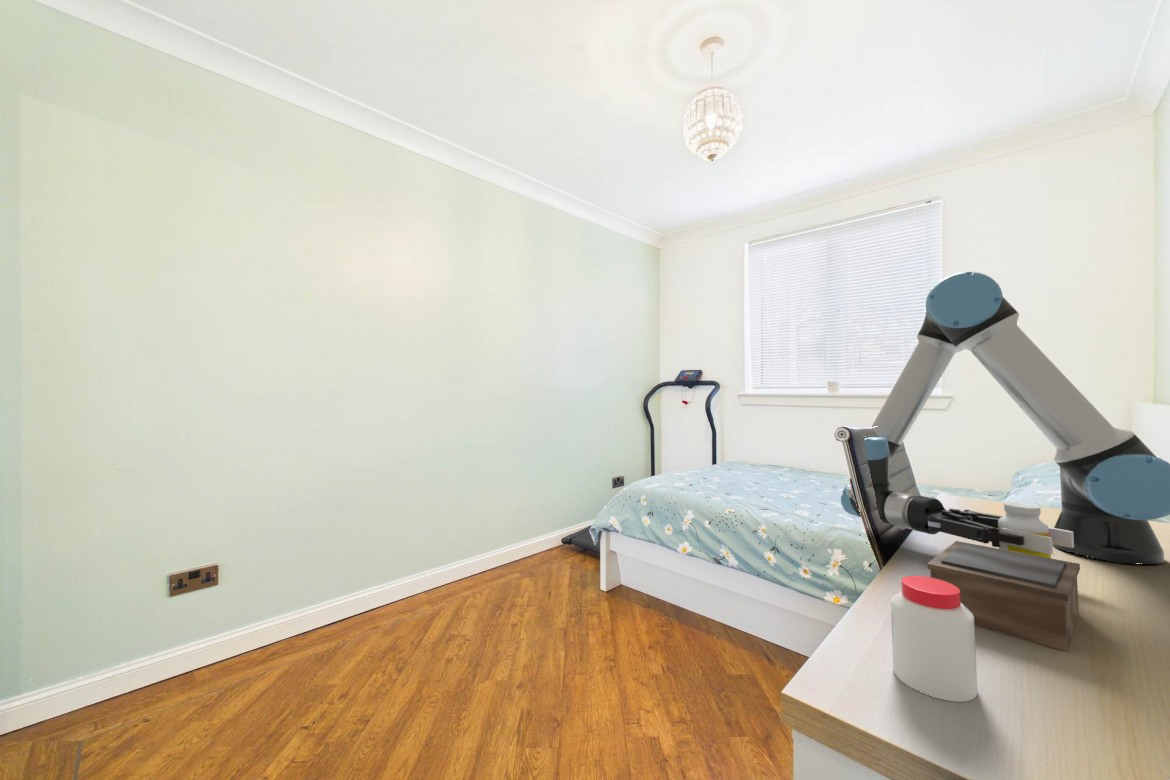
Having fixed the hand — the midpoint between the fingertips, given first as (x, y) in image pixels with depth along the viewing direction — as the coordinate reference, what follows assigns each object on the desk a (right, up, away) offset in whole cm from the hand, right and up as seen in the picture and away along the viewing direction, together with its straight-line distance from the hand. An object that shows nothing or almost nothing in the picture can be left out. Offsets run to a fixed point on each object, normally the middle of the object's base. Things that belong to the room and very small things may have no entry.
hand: (1061, 542), depth 75 cm
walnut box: (-17, -8, -8) cm, 21 cm away
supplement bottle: (-2, -8, +4) cm, 9 cm away
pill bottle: (-40, -8, -24) cm, 47 cm away
